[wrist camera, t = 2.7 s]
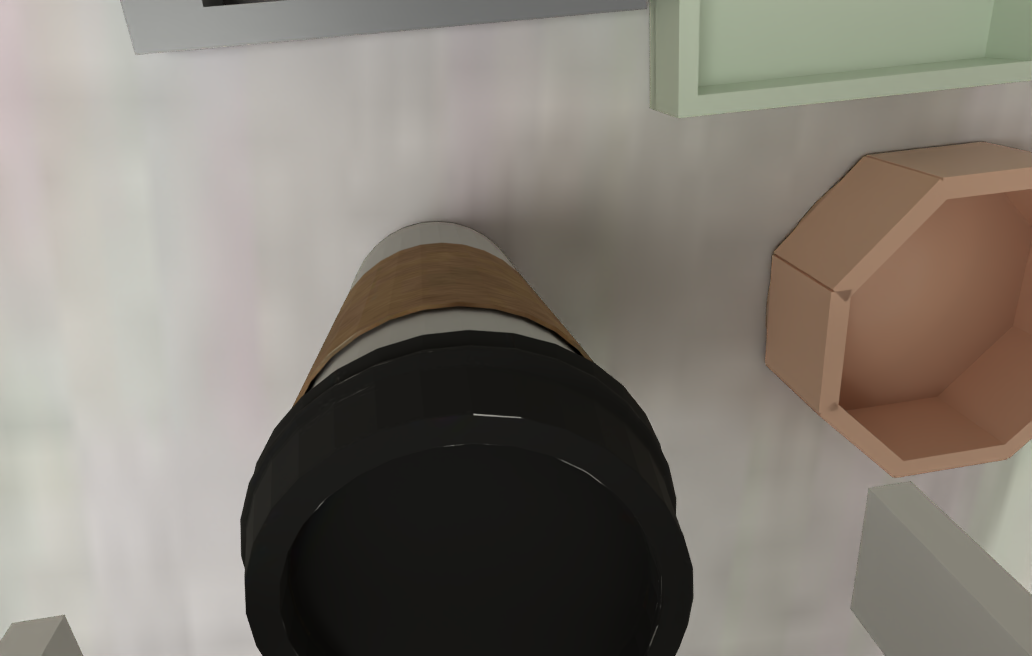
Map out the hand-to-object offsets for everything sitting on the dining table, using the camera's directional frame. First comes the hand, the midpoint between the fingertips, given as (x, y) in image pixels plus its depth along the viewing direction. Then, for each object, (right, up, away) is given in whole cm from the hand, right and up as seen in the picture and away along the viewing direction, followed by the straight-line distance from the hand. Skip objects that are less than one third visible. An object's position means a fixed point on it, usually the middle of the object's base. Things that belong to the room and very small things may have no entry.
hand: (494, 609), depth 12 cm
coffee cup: (-2, +6, +14) cm, 15 cm away
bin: (+15, +6, +16) cm, 23 cm away
